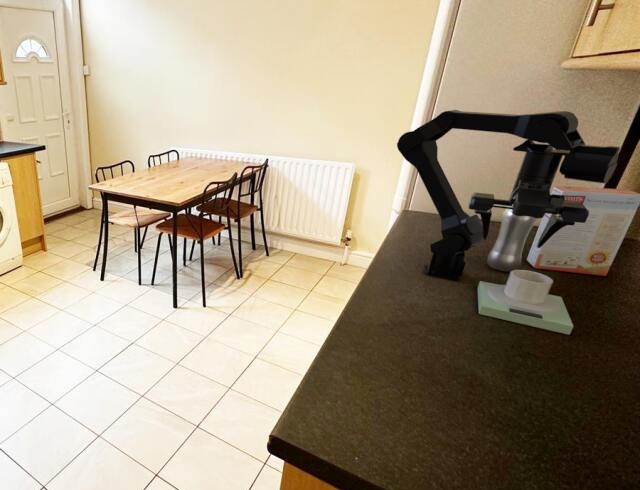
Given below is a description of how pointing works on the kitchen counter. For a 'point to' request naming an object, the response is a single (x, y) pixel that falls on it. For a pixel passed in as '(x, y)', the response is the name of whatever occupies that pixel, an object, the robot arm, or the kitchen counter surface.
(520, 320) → the scale
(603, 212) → the cracker box
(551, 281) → the bowl
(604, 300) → the kitchen counter surface
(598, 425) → the kitchen counter surface
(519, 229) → the silver metal bottle
